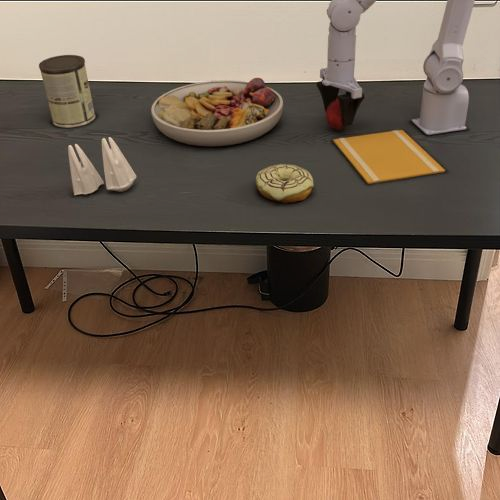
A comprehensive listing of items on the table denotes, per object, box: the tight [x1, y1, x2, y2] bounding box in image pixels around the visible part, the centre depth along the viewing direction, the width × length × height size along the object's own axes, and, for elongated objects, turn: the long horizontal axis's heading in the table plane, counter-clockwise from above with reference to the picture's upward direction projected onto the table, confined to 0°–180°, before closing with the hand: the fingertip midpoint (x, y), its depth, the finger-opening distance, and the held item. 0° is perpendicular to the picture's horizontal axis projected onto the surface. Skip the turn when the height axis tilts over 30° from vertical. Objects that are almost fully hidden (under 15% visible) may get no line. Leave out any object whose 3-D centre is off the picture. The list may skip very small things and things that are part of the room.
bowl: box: [150, 77, 284, 147], centre depth 145 cm, size 30×30×8 cm
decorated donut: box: [255, 163, 315, 204], centre depth 119 cm, size 10×11×4 cm
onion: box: [325, 98, 346, 131], centre depth 139 cm, size 6×6×8 cm
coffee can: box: [38, 54, 96, 129], centre depth 149 cm, size 10×10×14 cm
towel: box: [332, 129, 446, 185], centre depth 130 cm, size 16×20×1 cm
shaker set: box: [67, 136, 137, 196], centre depth 120 cm, size 12×4×11 cm, turn 88°
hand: (338, 118), depth 140 cm, fingers open, 7 cm apart
